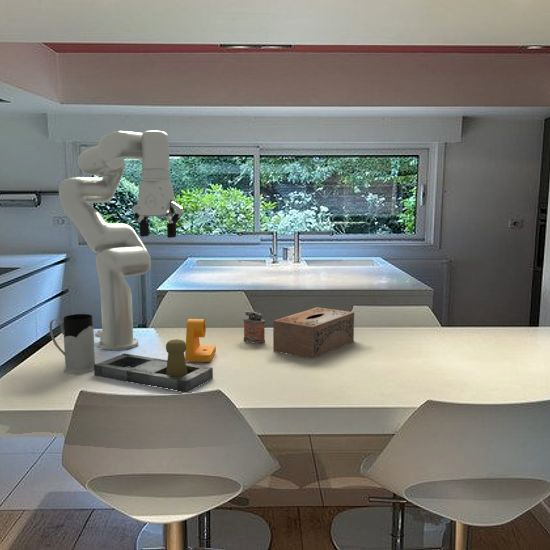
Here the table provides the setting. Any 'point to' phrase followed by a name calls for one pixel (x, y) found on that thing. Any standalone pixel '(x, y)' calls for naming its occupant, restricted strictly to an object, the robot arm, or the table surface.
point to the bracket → (197, 342)
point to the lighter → (254, 328)
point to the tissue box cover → (313, 332)
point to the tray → (152, 372)
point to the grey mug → (77, 343)
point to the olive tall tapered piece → (176, 358)
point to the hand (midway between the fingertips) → (158, 236)
